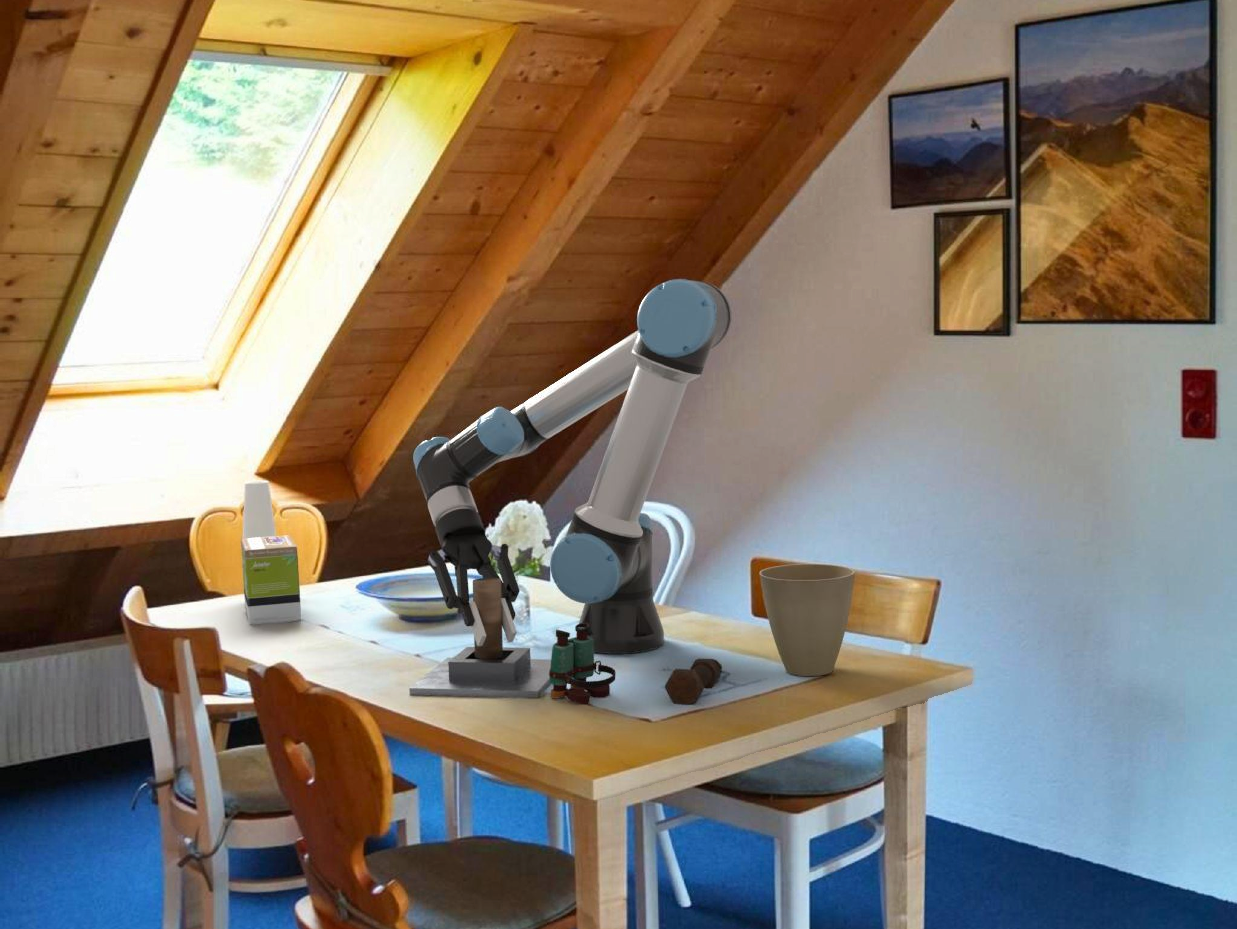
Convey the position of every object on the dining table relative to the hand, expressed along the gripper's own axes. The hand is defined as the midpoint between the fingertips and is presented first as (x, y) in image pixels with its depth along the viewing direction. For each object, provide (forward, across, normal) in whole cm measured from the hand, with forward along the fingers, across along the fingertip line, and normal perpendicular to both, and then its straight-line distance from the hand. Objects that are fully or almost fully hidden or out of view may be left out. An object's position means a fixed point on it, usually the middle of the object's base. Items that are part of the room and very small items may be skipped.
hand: (497, 639), depth 228 cm
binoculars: (+15, -8, +4) cm, 18 cm away
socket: (+3, 0, -8) cm, 8 cm away
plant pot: (+18, -45, +8) cm, 49 cm away
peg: (0, 0, -5) cm, 5 cm away
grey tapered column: (-61, +15, -72) cm, 95 cm away
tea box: (-46, +18, -57) cm, 76 cm away
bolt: (+19, -24, +9) cm, 32 cm away
